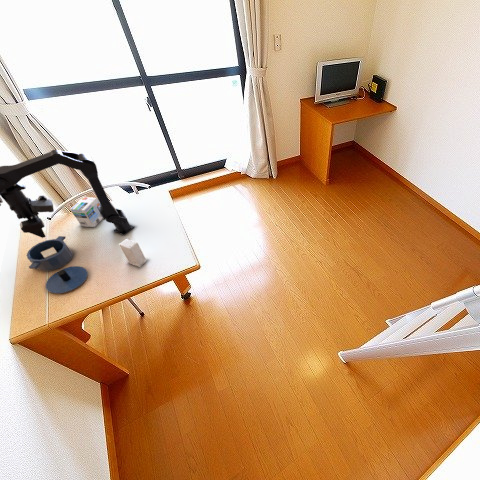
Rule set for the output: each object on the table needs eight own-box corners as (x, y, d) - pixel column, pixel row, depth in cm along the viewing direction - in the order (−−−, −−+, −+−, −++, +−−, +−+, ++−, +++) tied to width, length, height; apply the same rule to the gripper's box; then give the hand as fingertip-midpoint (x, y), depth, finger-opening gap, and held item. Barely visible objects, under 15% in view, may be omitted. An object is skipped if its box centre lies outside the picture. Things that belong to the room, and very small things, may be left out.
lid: (95, 268, 120) (89, 260, 116) (75, 295, 110) (68, 287, 106) (61, 267, 119) (54, 258, 115) (38, 293, 109) (29, 285, 105)
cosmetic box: (147, 260, 126) (137, 242, 118) (140, 267, 123) (129, 248, 115) (136, 256, 127) (126, 238, 119) (128, 263, 124) (117, 244, 116)
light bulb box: (94, 227, 137) (84, 210, 130) (80, 226, 137) (69, 209, 130) (107, 214, 145) (97, 197, 138) (93, 213, 145) (83, 196, 137)
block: (58, 253, 123) (53, 247, 120) (62, 259, 122) (56, 252, 119) (46, 259, 121) (40, 252, 118) (50, 264, 119) (44, 257, 116)
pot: (83, 245, 128) (75, 236, 124) (56, 276, 115) (47, 267, 111) (53, 244, 128) (45, 234, 123) (23, 275, 114) (13, 265, 110)
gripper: (48, 205, 105) (70, 235, 115) (40, 182, 114) (61, 212, 125) (9, 216, 99) (36, 247, 109) (3, 191, 108) (29, 222, 119)
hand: (42, 231), depth 116 cm, fingers open, 9 cm apart
